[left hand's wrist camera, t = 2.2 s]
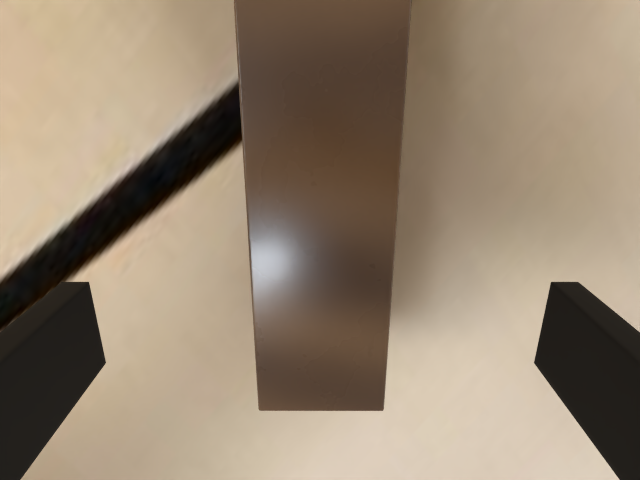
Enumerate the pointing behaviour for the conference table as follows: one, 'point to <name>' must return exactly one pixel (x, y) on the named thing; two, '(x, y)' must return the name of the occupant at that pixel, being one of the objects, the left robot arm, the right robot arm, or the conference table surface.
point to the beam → (321, 193)
